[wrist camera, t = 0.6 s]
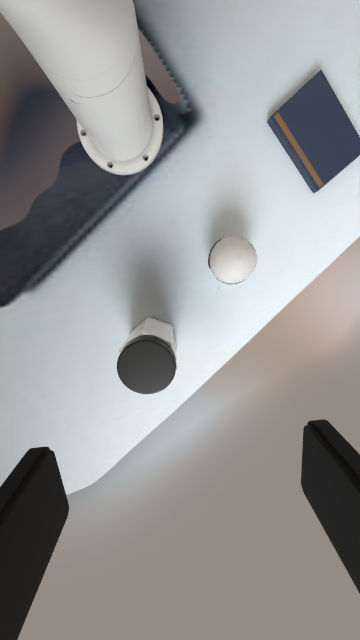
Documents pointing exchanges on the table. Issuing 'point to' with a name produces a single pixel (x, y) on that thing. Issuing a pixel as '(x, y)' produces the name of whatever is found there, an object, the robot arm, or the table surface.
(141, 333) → the jar
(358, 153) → the notebook
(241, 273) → the white sphere
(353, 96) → the table surface
